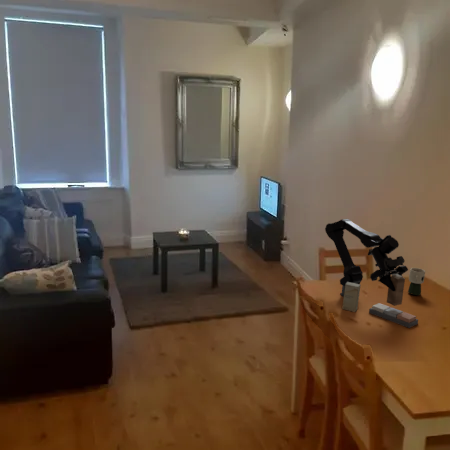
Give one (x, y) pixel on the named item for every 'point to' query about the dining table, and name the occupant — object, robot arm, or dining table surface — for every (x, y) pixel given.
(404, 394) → the dining table surface
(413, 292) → the character mug
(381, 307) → the key pad
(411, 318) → the terracotta key
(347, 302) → the skincare box
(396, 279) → the walnut stylus post
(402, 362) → the dining table surface
